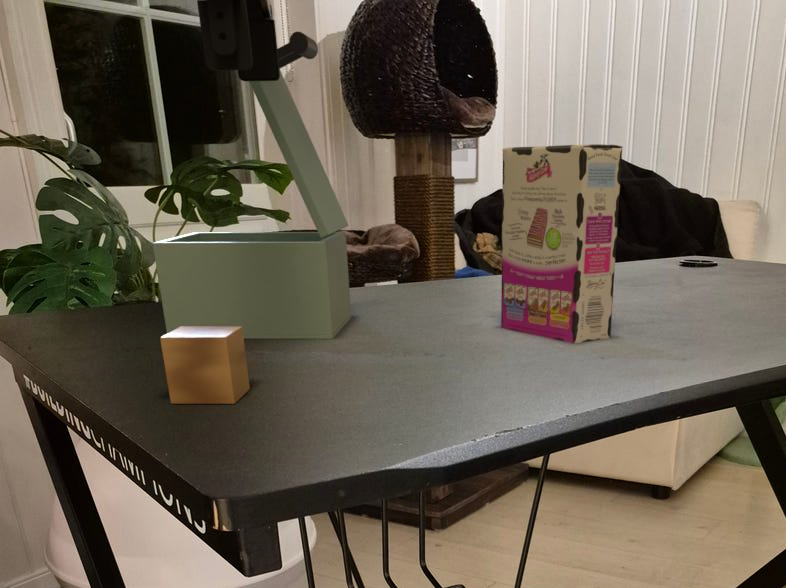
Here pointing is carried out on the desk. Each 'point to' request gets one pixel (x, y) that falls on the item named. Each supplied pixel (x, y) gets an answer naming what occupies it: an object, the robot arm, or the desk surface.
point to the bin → (256, 282)
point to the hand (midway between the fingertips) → (245, 75)
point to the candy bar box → (560, 240)
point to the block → (205, 364)
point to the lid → (299, 140)
